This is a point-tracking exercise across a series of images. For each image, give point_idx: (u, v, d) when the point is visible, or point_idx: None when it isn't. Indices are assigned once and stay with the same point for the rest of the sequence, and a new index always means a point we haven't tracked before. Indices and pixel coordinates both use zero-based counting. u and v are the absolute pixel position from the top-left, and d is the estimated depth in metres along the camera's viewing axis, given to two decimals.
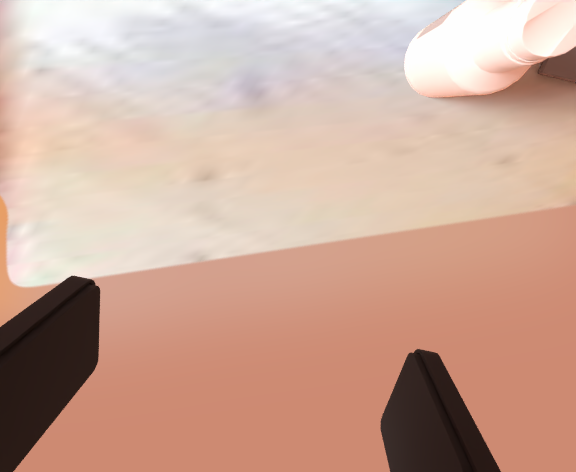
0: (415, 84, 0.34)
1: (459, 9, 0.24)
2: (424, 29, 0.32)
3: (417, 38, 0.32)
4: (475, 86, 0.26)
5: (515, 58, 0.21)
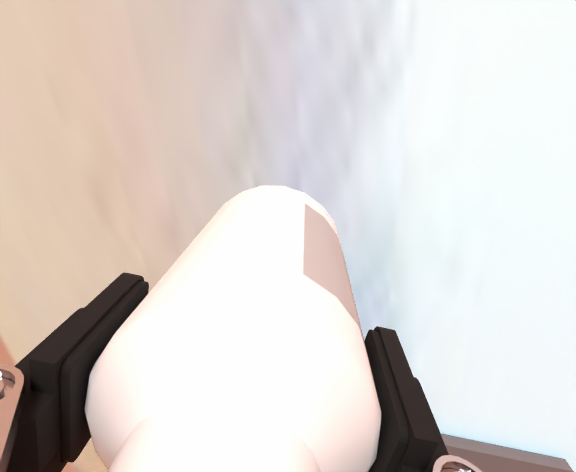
0: (218, 212, 0.15)
1: (327, 336, 0.07)
2: (322, 219, 0.15)
3: (305, 206, 0.15)
4: (92, 412, 0.07)
5: None
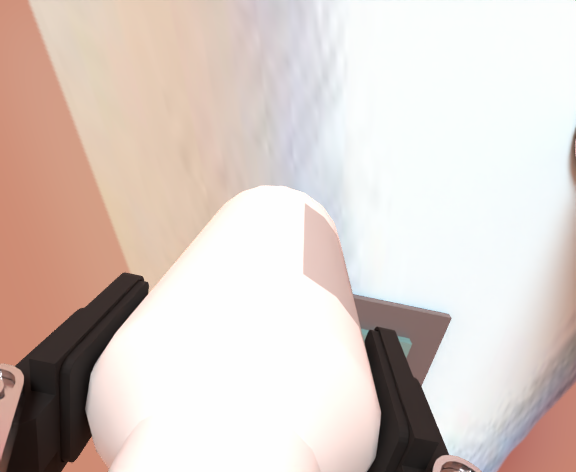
0: (218, 212, 0.16)
1: (327, 336, 0.07)
2: (322, 219, 0.15)
3: (305, 206, 0.15)
4: (93, 412, 0.08)
5: None
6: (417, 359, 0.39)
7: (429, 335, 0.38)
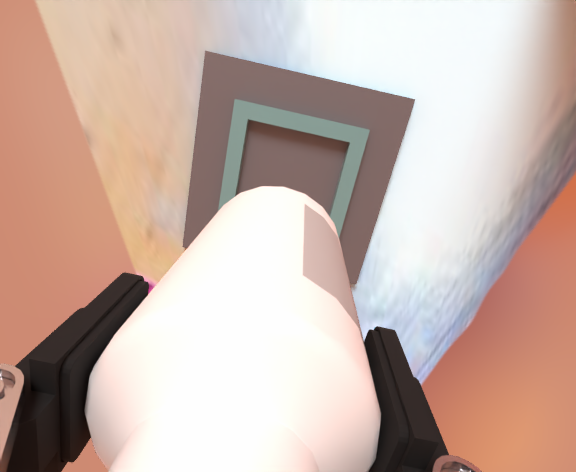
0: (218, 212, 0.16)
1: (327, 337, 0.07)
2: (322, 219, 0.15)
3: (305, 207, 0.15)
4: (92, 413, 0.07)
5: None
6: (378, 158, 0.35)
7: (390, 124, 0.34)
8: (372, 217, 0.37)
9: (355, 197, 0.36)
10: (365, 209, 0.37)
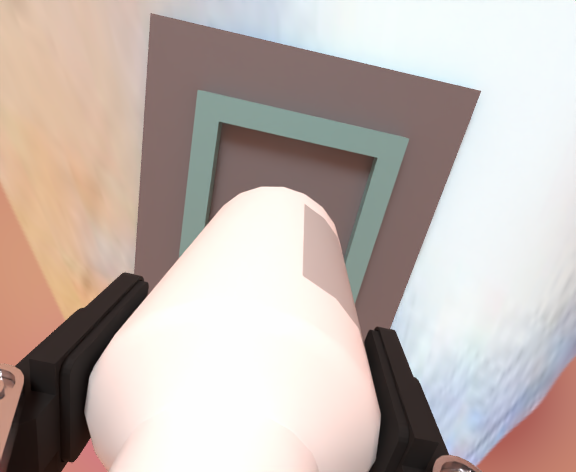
0: (218, 213, 0.15)
1: (327, 338, 0.07)
2: (322, 220, 0.15)
3: (305, 207, 0.15)
4: (92, 414, 0.07)
5: None
6: (419, 181, 0.23)
7: (440, 129, 0.22)
8: (406, 266, 0.25)
9: (382, 237, 0.25)
10: (396, 255, 0.25)
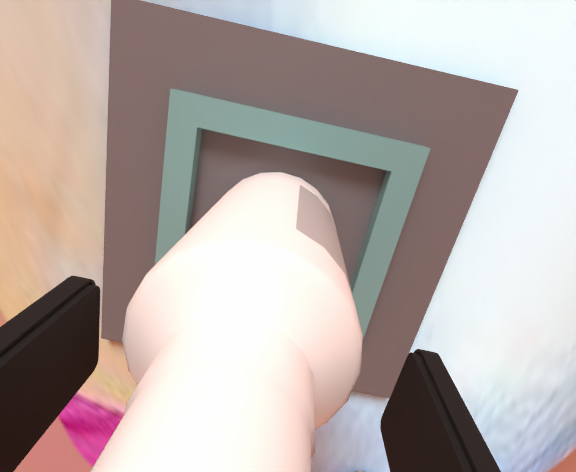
0: (223, 196, 0.17)
1: (314, 268, 0.09)
2: (316, 197, 0.17)
3: (300, 187, 0.17)
4: (130, 339, 0.09)
5: None
6: (440, 199, 0.19)
7: (467, 137, 0.18)
8: (423, 297, 0.21)
9: (395, 264, 0.21)
10: (411, 285, 0.21)
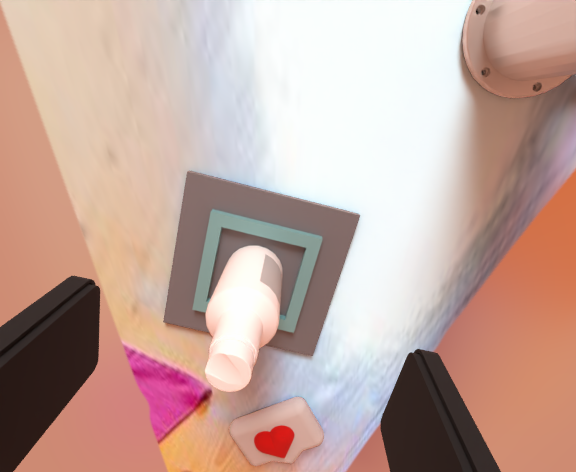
0: (232, 257, 0.40)
1: (263, 294, 0.31)
2: (272, 260, 0.39)
3: (265, 255, 0.39)
4: (209, 314, 0.32)
5: (211, 347, 0.27)
6: (330, 258, 0.42)
7: (340, 233, 0.41)
8: (326, 303, 0.44)
9: (311, 287, 0.43)
10: (320, 297, 0.44)
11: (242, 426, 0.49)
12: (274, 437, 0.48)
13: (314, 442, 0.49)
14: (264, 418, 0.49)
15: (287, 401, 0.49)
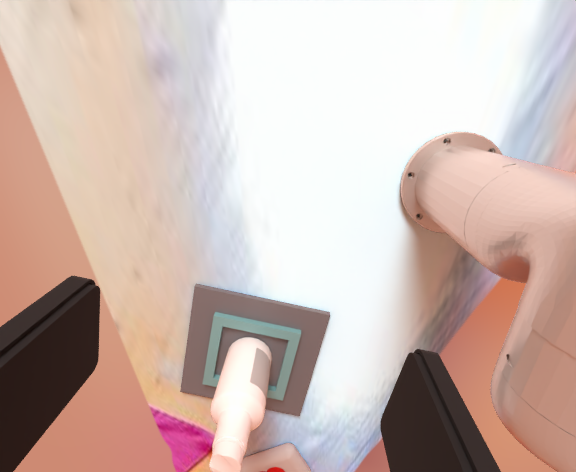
0: (231, 350, 0.51)
1: (252, 396, 0.43)
2: (261, 352, 0.51)
3: (256, 349, 0.50)
4: (213, 410, 0.43)
5: (213, 445, 0.39)
6: (309, 345, 0.53)
7: (315, 327, 0.52)
8: (307, 378, 0.55)
9: (295, 366, 0.55)
10: (302, 373, 0.55)
11: (244, 467, 0.61)
12: None
13: None
14: (261, 461, 0.60)
15: (279, 447, 0.61)
